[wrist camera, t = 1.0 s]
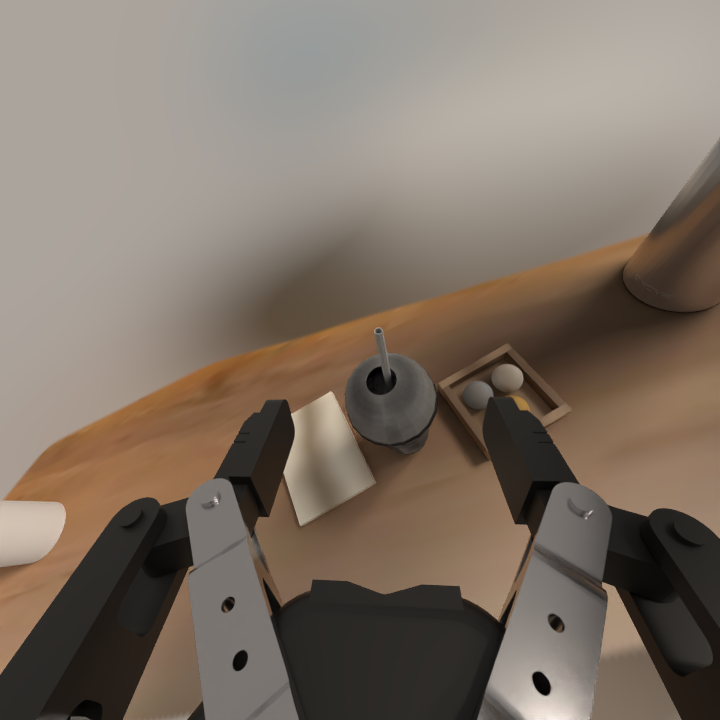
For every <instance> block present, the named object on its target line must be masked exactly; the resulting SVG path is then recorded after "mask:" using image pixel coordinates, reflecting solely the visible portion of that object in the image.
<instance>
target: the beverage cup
mask: <svg viewBox="0 0 720 720" xmlns="http://www.w3.org/2000/svg"><path fill="white" fill-rule="evenodd" d="M374 335H375V339H376V344H377V349H378V353H379V354H378V355H374V356H372V357H370V358H368V359H366V360H364V361H363V362H362V363H361V364H360V365H359V366H358V367H357V368H355V369H354V371H353V373H352V374H351V376H350V378H349V379H348V383H347V387H346V391H345V403H346V410H347V414H348V417H349V419H350V421H351V424H352V426H353V428H354V429H355V430H356V431H357V432H358V433H359V434H360V435H361V436H362V437H363V438H364V439H366V440H368V441H370V442H372V443H374V444H376V445H382V446H388V447H389V448H391V449H393V450H395V451H397V452H399V453H403V454H412V453H415V452H417V451H419V450H420V449H421V448H422V447H423V446H424V444H425V442H426V439H427V437H428V431H429V427H430V425H431V423H432V421H433V419H434V417H435V415H436V412H437V402H438V397H437V393H436V389H435V385H434V383H433V381H432V380H431V378H430V377H429V375H428V374H427V373H426V371H425V370H424V368H423V367H422V366H420V365H419V364H418V363H417V362H415V361H414V360H413V359H411V358H409V357H406V356H403V355H401V354H396V353H387V350H386V344H385V339H384V333H383V330H382V328H376V329H375V330H374Z"/></svg>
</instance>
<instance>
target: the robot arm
mask: <svg viewBox="0 0 720 720" xmlns="http://www.w3.org/2000/svg"><path fill="white" fill-rule="evenodd" d="M623 281H624V283H625V285H626V287H627V289H628V290H629V291H630V292H631V293H632V294H633V295H634V296H635V297H636V298H638V299H639V300H641V301H643V302H644V303H646V304H648V305H651V306H654V307H656V308H660V309H664V310H668V311H676V312H694V311H700V310H704V309H707V308H710V307H713V306H714V305H716V304H718V303H719V302H720V138H719V139H718V141H717V142H716V143H715V145H714V146H713V147H712V149H711V150H710V152H709V153H708V155H707V156H706V157H705V158H704V160H703V161H702V163H701V164H700V165H699V166H698V168H697V169H696V171H695V172H694V173H693V175H692V176H691V177H690V179H689V180H688V181H687V183H686V184H685V186H684V187H683V188H682V190H681V191H680V192H679V194H678V195H677V196H676V198H675V199H674V200H673V202H672V203H671V205H670V206H669V207H668V209H667V210H666V211H665V213H664V214H663V215H662V217H661V218H660V220H659V221H658V222H657V224H656V225H655V226H654V228H653V229H652V230H651V232H650V233H649V234H648V236H647V237H646V238H645V240H644V241H643V242H642V244H641V245H640V247H639V248H638V249H637V251H636V252H635V253H634V255H633V256H632V257H631V259H630V260H629V262H628V263H627V264H626V266H625V268H624V271H623ZM482 431H483V438H484V442H485V445H486V447H487V450H488V453H489V455H490V458H491V461H492V463H493V466H494V469H495V471H496V474H497V477H498V480H499V482H500V485H501V488H502V490H503V493H504V496H505V498H506V501H507V504H508V506H509V509H510V512H511V514H512V517H513V520H514V523H515V524H527V525H528V528H529V530H530V533H531V535H530V537H529V540H528V543H527V545H526V548H525V551H524V554H523V556H522V559H521V562H520V565H519V567H518V570H517V573H516V576H515V578H514V581H513V584H512V587H511V589H510V592H509V594H508V597H507V599H506V601H505V604H504V606H503V609H502V611H501V614H500V616H499V619H498V620H497V619H495V618H494V617H493V616H492V615H491V614H489V613H488V612H487V611H485V610H484V609H482V608H481V607H479V606H478V605H476V604H474V603H472V602H470V601H468V600H466V599H463V598H462V597H461V592H460V586H441V585H419V586H415V587H412V588H408V589H405V590H401V591H397V592H394V593H390V594H380V593H377V592H375V591H372V590H369V589H367V588H364V587H361V586H359V585H356V584H353V583H351V582H348V581H331V580H313V581H312V587H311V591H308V592H305V593H303V594H301V595H298V596H296V597H295V598H293V599H292V600H290V601H288V602H287V603H286V604H285V605H283V603H282V600H281V598H280V595H279V593H278V590H277V588H276V586H275V583H274V581H273V578H272V576H271V573H270V570H269V567H268V564H267V561H266V558H265V555H264V553H263V550H262V547H261V544H260V541H259V538H258V535H257V532H256V529H255V525H256V522H257V519H258V517H269V515H270V512H271V509H272V506H273V503H274V500H275V497H276V494H277V491H278V488H279V485H280V482H281V478H282V475H283V472H284V469H285V466H286V463H287V460H288V457H289V454H290V451H291V448H292V445H293V442H294V437H295V427H294V423H293V419H292V416H291V412H290V409H289V405H288V402H287V400H267V401H266V402H265V404H264V406H263V408H262V410H261V412H260V413H253V414H252V415H251V416H250V417H249V418H248V419H247V420H246V421H245V422H244V424H243V426H242V427H241V429H240V431H239V435H237V437H236V438H235V440H234V444H232V446H231V448H230V449H229V451H228V453H227V455H226V457H225V459H224V460H223V462H222V464H221V466H220V468H219V470H218V471H217V473H216V475H215V477H214V478H213V479H212V480H209V481H207V482H205V483H203V484H202V485H200V486H199V487H198V488H197V489H196V490H195V491H194V492H193V493H192V494H191V496H190V497H189V498H186V499H182V500H179V501H175V502H172V503H168V504H165V505H160V504H159V503H158V501H157V500H156V499H154V498H148V497H147V498H141V499H138V500H135V501H133V502H131V503H130V504H128V505H126V506H125V507H124V508H122V509H121V510H120V511H119V512H118V513H117V514H116V515H115V516H114V517H113V518H112V520H111V521H110V522H109V524H108V525H107V526H106V528H105V529H104V531H103V532H102V533H101V535H100V536H99V538H98V539H97V540H96V542H95V543H94V545H93V546H92V547H91V549H90V550H89V552H88V553H87V554H86V556H85V557H84V559H83V560H82V561H81V563H80V564H79V566H78V567H77V568H76V570H75V571H74V573H73V574H72V575H71V577H70V578H69V580H68V581H67V582H66V584H65V585H64V587H63V588H62V589H61V591H60V592H59V594H58V595H57V596H56V598H55V599H54V601H53V602H52V603H51V605H50V606H49V608H48V609H47V610H46V612H45V613H44V615H43V616H42V617H41V619H40V620H39V622H38V623H37V624H36V626H35V627H34V629H33V630H32V631H31V633H30V634H29V635H28V637H27V638H26V640H25V641H24V642H23V644H22V645H21V647H20V648H19V649H18V651H17V652H16V654H15V655H14V656H13V658H12V659H11V661H10V662H9V663H8V665H7V666H6V668H5V669H4V670H3V672H2V673H1V675H0V720H123V717H124V715H125V713H126V711H127V708H128V706H129V704H130V701H131V699H132V697H133V694H134V692H135V690H136V688H137V685H138V683H139V681H140V678H141V676H142V674H143V671H144V669H145V667H146V665H147V662H148V660H149V658H150V655H151V653H152V651H153V648H154V646H155V644H156V642H157V639H158V637H159V635H160V632H161V630H162V628H163V625H164V623H165V621H166V619H167V616H168V614H169V612H170V609H171V607H172V605H173V603H174V600H175V598H176V596H177V593H178V591H179V589H180V586H181V584H182V582H183V580H184V577H185V575H186V573H187V570H188V568H189V567H190V566H193V565H194V569H193V570H192V571H191V572H190V573H189V576H188V584H189V593H190V601H191V609H192V617H193V625H194V633H195V641H196V649H197V657H198V665H199V673H200V681H201V689H202V697H203V701H202V702H201V704H200V705H199V706H198V707H197V708H196V710H195V711H194V712H193V713H192V715H191V716H190V717H189V718H188V719H187V720H591V715H592V708H593V701H594V694H595V687H596V680H597V673H598V666H599V659H600V652H601V645H602V638H603V631H604V624H605V617H606V610H607V601H608V597H607V592H606V590H604V589H603V588H602V582H604V583H607V584H610V585H612V586H615V587H616V589H617V591H618V593H619V595H620V597H621V599H622V601H623V603H624V605H625V607H626V609H627V611H628V613H629V615H630V617H631V619H632V621H633V623H634V625H635V627H636V629H637V631H638V633H639V635H640V637H641V639H642V641H643V643H644V645H645V647H646V649H647V651H648V653H649V655H650V657H651V659H652V661H653V663H654V665H655V667H656V669H657V671H658V673H659V675H660V677H661V679H662V681H663V683H664V685H665V687H666V689H667V691H668V693H669V695H670V697H671V699H672V701H673V703H674V705H675V707H676V709H677V711H678V713H679V715H680V717H681V719H682V720H720V539H719V538H718V537H717V536H716V535H715V534H714V533H713V532H712V531H711V530H710V529H709V528H708V527H706V526H705V525H704V524H702V523H701V522H699V521H698V520H696V519H695V518H693V517H691V516H689V515H687V514H684V513H682V512H679V511H676V510H672V509H666V508H663V509H656V510H654V511H653V512H652V513H651V514H650V515H649V516H648V517H646V516H643V515H639V514H636V513H632V512H629V511H625V510H622V509H618V508H615V507H612V506H609V505H607V504H606V503H605V501H604V500H603V499H602V498H601V497H600V496H599V495H597V494H596V493H595V492H593V491H592V490H590V489H588V488H587V487H585V486H582V485H580V484H579V482H578V481H577V479H576V478H575V476H574V475H573V473H572V471H571V470H570V468H569V466H568V465H567V463H566V462H565V460H564V458H563V457H562V455H561V454H560V452H559V450H558V449H557V447H556V446H555V444H553V441H552V439H551V438H550V436H549V434H547V431H546V430H545V428H544V426H543V425H542V423H541V422H540V420H539V419H538V418H536V417H535V416H534V415H533V414H532V413H530V412H529V411H528V410H520V409H519V408H518V406H517V404H516V402H515V401H514V399H513V398H512V397H490V398H489V399H488V403H487V407H486V412H485V417H484V421H483V427H482Z"/></svg>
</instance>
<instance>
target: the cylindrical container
mask: <svg viewBox="0 0 720 720" xmlns="http://www.w3.org/2000/svg"><path fill="white" fill-rule="evenodd" d="M65 520H66V512H65V508H64V506H63V505H62V504H61V503H59V502H40V501H0V567H5V566H13V565H21V564H29V563H34V562H37V561H39V560H40V559H42V558H43V557H44V556H45V555H47V554H48V553H49V551H50V550H51V549H52V548H53V547H54V545H55V544H56V542H57V541H58V539H59V537H60V535H61V533H62V531H63V528H64V524H65Z"/></svg>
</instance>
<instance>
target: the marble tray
mask: <svg viewBox="0 0 720 720" xmlns="http://www.w3.org/2000/svg"><path fill="white" fill-rule="evenodd" d="M438 391H439V392H440V393H441V395H442V396H443V398H444V399H445V400H446V402H447V403H448V404H449V406H450V407H451V409H452V410H453V411H454V413H455V414H456V416H457V417H458V418H459V420H460V421H461V423H462V424H463V425H464V427H465V428H466V430H467V431H468V432H469V434H470V435H471V437H472V438H473V439H474V441H475V442H476V443H477V445H478V446H479V448H480V449H481V450H482V452H483V453H484V455H485V456H486V457H487V459H488V460H491V458H490V455H489V453H488V450H487V447H486V445H485V442H484V438H483V431H482V427H483V421H484V417H485V412H486V407H487V403H488V399H489V398H490V397H512V398H513V399H514V401H515V402H516V404H517V406H518V408H519V409H520V410H528V411H529V412H530V413H532V414H533V415H534V416H535V417H536V418H538V419H539V420H540V422H541V423H542V425H543V426H544V428H546V427H547V426H549V425H551V424H553V423H554V422H556V421H558V420H559V419H561V418H563V417H565V416H566V415H567V414H568V413H570V412H571V411H572V410H573V409H572V408H571V407H570V406H569V405H568V404H567V403H566V402H565V401H564V400H563V399H562V398H561V397H560V396H559V395H558V394H557V393H556V392H555V391H554V390H553V389H552V388H551V387H550V386H549V385H548V384H547V383H546V382H545V381H544V380H543V379H542V377H541V376H540V375H539V374H538V373H537V372H536V371H535V370H534V369H533V368H532V367H531V366H530V365H529V364H528V363H527V362H526V361H525V360H524V359H523V358H522V357H521V356H520V355H519V354H518V353H517V352H516V351H515V350H514V349H513V348H512V347H511V346H510V345H509V344H508V343H507V344H505V345H503V346H501V347H500V348H498V349H496V350H495V351H493V352H491V353H489V354H488V355H486V356H484V357H482V358H481V359H479V360H477V361H475V362H474V363H472V364H470V365H469V366H467V367H465V368H463V369H462V370H460V371H458V372H456V373H455V374H453V375H451V376H449V377H448V378H446V379H444V380H443V381H441V382H439V383H438Z"/></svg>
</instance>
